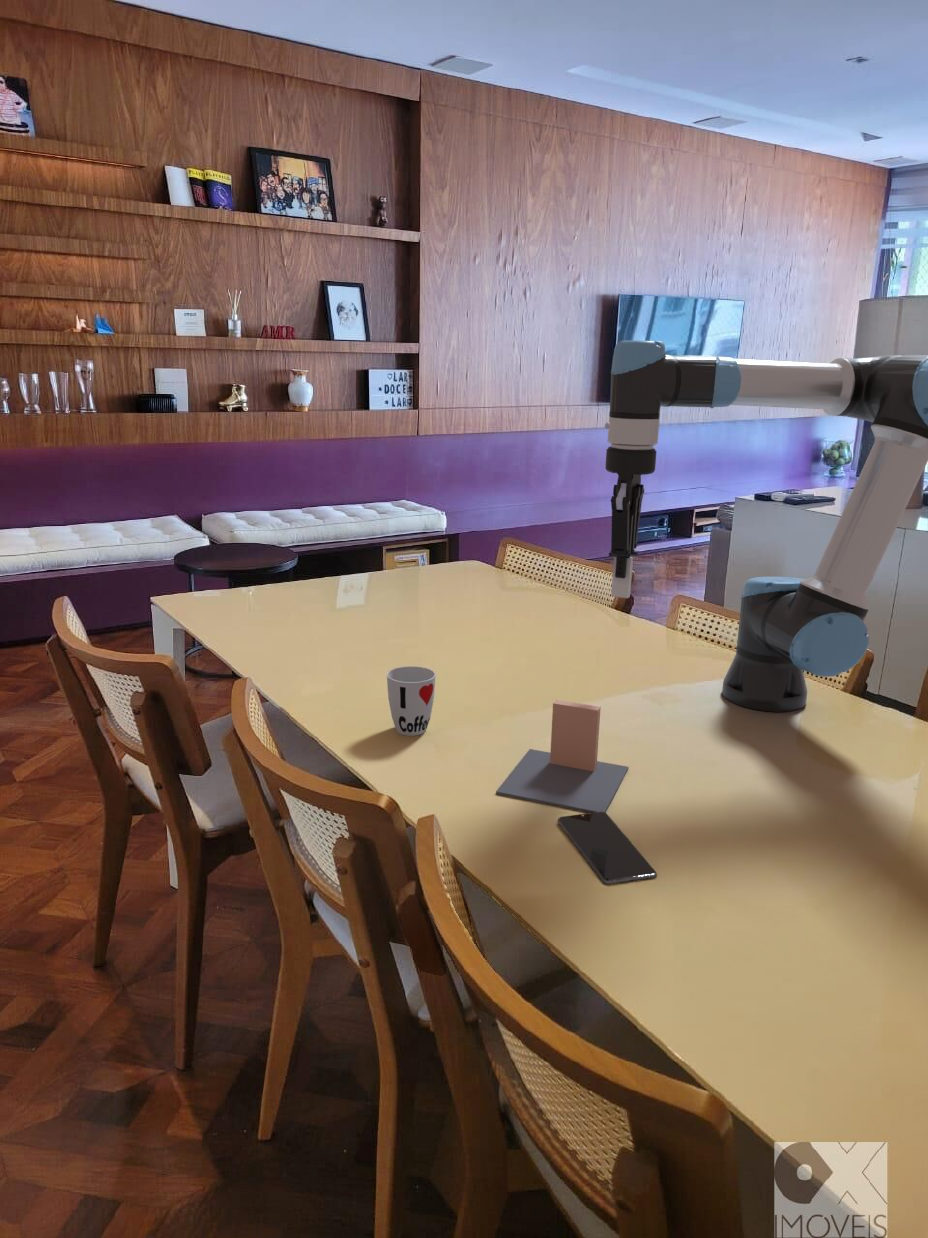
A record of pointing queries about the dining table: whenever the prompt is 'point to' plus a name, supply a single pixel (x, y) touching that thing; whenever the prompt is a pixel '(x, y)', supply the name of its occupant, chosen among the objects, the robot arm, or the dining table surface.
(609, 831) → the smartphone
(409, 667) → the cup
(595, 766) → the slab
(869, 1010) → the dining table surface
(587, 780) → the mat
